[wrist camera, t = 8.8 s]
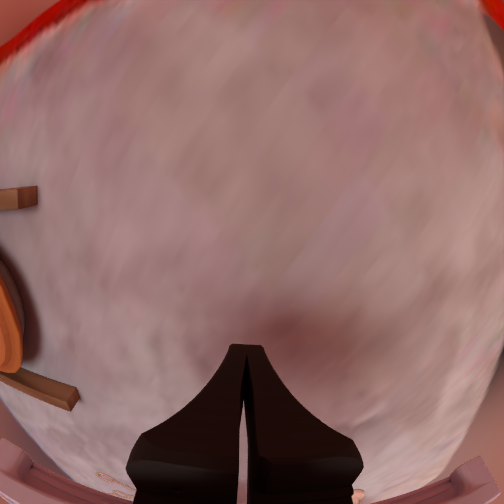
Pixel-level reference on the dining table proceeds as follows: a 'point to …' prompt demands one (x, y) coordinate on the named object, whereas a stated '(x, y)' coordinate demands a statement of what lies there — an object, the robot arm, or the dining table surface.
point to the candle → (357, 496)
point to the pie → (10, 323)
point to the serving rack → (22, 378)
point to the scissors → (118, 484)
